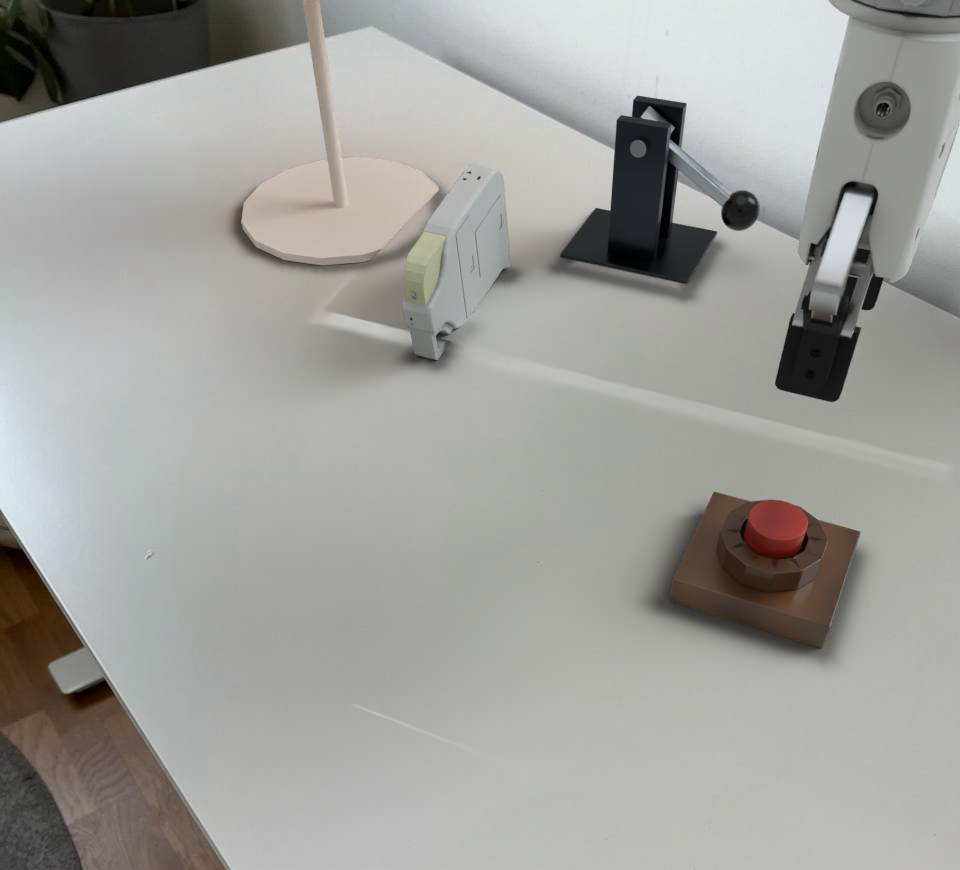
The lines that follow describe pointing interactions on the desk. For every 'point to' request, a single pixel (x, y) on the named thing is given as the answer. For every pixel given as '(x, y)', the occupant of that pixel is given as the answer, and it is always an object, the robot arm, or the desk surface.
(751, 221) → the tap lever
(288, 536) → the desk surface
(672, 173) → the lever bracket
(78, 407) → the desk surface
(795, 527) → the button
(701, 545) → the button block
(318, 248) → the desk lamp
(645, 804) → the desk surface
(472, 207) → the grey clip-foot housing
